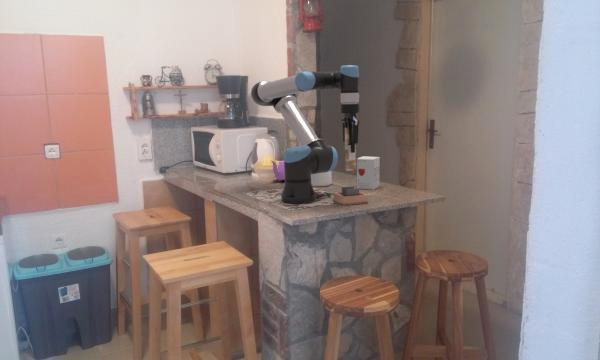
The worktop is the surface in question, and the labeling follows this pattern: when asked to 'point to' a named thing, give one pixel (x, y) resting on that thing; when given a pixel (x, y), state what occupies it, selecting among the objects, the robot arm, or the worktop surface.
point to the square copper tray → (350, 196)
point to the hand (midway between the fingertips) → (350, 159)
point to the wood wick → (352, 163)
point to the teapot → (279, 170)
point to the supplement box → (368, 172)
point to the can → (321, 179)
